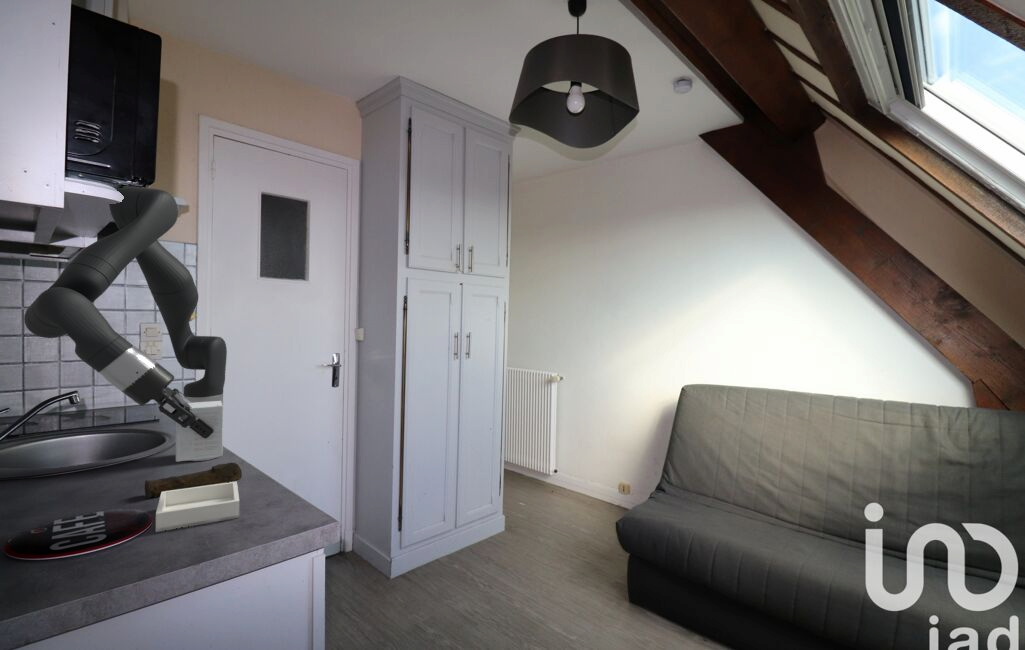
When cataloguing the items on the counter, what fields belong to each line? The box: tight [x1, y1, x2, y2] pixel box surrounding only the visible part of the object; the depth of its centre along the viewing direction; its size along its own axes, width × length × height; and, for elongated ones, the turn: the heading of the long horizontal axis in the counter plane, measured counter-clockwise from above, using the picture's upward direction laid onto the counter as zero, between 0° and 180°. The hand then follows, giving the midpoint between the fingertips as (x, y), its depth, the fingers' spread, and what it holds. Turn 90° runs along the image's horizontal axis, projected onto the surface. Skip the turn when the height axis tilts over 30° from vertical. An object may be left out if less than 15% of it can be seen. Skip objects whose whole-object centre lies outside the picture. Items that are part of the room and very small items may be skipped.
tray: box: [155, 480, 240, 533], centre depth 100 cm, size 12×14×4 cm
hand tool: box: [144, 462, 243, 500], centre depth 112 cm, size 19×4×5 cm, turn 131°
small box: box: [175, 401, 224, 462], centre depth 99 cm, size 8×6×10 cm
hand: (209, 430), depth 100 cm, fingers closed on small box, 5 cm apart
